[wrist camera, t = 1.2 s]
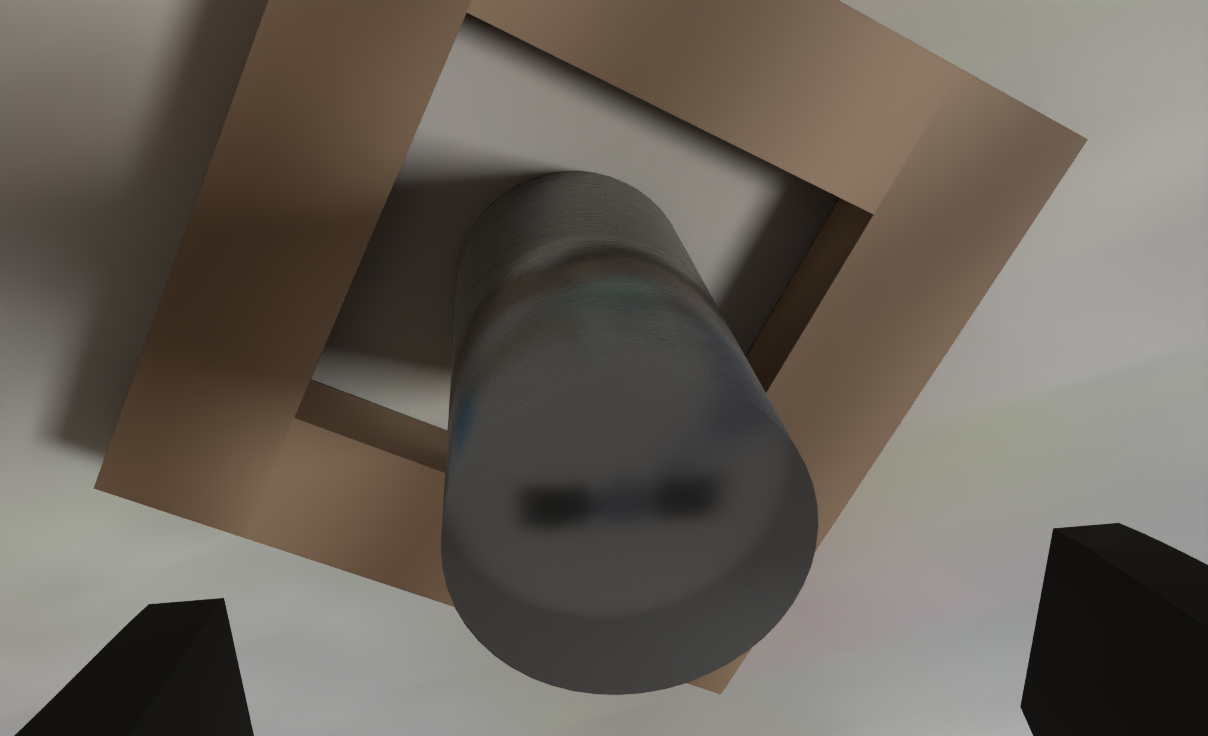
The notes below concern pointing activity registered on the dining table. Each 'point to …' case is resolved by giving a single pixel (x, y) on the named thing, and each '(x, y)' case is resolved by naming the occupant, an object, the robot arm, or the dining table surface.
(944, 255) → the brown square frame
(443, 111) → the dining table surface
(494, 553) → the metal axle
